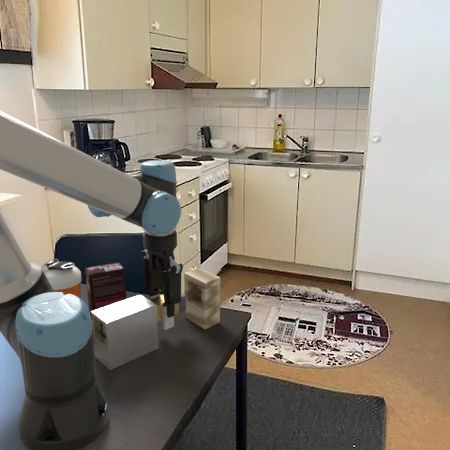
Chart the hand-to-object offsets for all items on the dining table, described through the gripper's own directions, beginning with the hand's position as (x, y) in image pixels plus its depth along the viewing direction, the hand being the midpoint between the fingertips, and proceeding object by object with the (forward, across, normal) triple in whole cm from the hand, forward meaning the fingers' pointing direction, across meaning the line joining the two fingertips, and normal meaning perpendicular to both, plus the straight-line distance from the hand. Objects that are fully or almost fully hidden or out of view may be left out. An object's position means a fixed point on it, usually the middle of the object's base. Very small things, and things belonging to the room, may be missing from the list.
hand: (162, 323), depth 111 cm
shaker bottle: (+4, +13, +18) cm, 23 cm away
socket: (+4, 0, -12) cm, 13 cm away
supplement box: (+4, +13, +7) cm, 15 cm away
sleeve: (+4, 0, +10) cm, 11 cm away
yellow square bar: (-2, 0, +5) cm, 5 cm away
